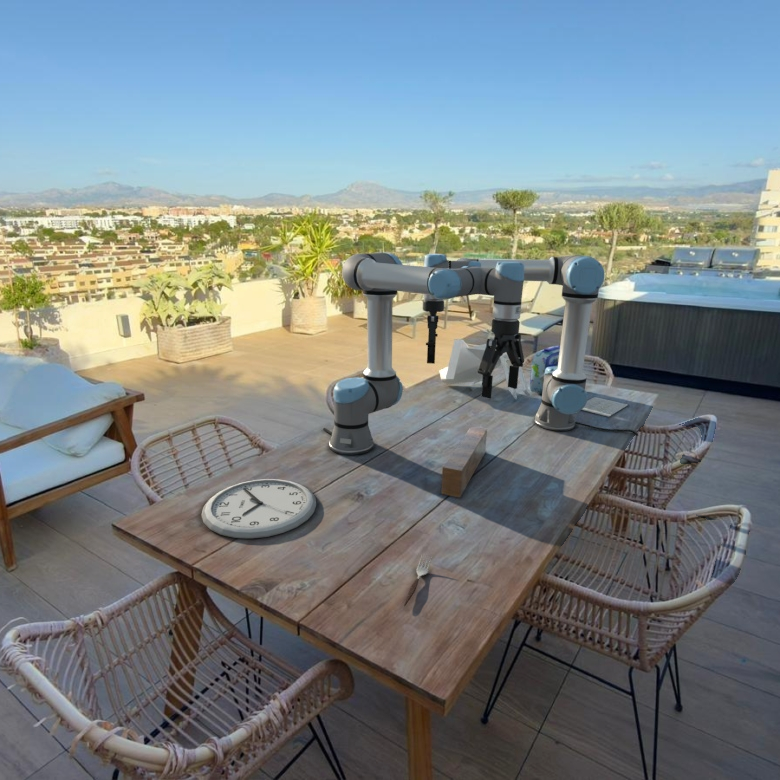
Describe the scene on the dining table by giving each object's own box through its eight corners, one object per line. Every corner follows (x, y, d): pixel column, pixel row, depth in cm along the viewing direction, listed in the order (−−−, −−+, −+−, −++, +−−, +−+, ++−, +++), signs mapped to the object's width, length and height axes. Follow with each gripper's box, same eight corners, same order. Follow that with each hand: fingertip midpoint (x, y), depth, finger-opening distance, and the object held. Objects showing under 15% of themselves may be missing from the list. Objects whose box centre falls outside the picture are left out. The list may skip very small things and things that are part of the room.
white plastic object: (461, 429, 252) (437, 405, 227) (444, 352, 274) (420, 323, 250) (535, 404, 240) (518, 377, 215) (510, 326, 262) (492, 293, 237)
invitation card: (608, 416, 214) (573, 407, 224) (608, 416, 214) (573, 408, 224) (628, 404, 229) (594, 396, 238) (628, 405, 229) (594, 397, 238)
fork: (398, 606, 105) (398, 598, 104) (421, 561, 119) (421, 553, 119) (410, 610, 104) (410, 601, 103) (432, 564, 118) (432, 556, 118)
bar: (469, 449, 180) (470, 426, 178) (485, 452, 178) (487, 429, 176) (441, 493, 150) (442, 467, 147) (460, 497, 148) (461, 470, 146)
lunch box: (546, 399, 235) (551, 353, 228) (525, 393, 242) (530, 349, 236) (574, 387, 252) (579, 345, 246) (553, 383, 260) (558, 341, 253)
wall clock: (313, 530, 128) (186, 534, 125) (313, 536, 128) (187, 540, 125) (318, 474, 156) (215, 477, 154) (318, 479, 157) (216, 482, 154)
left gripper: (491, 326, 133) (485, 405, 140) (540, 316, 150) (533, 386, 157) (468, 322, 138) (463, 398, 145) (518, 312, 155) (511, 381, 162)
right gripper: (423, 294, 195) (421, 350, 201) (421, 304, 171) (419, 366, 178) (444, 295, 194) (441, 351, 201) (444, 304, 171) (441, 367, 177)
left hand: (499, 392), depth 151 cm, fingers open, 13 cm apart
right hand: (431, 358), depth 189 cm, fingers open, 13 cm apart
